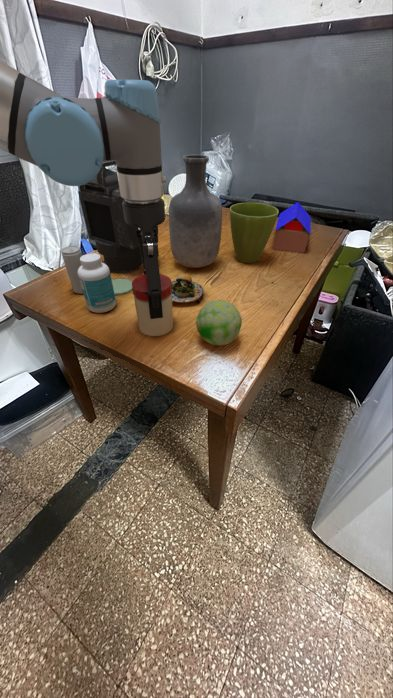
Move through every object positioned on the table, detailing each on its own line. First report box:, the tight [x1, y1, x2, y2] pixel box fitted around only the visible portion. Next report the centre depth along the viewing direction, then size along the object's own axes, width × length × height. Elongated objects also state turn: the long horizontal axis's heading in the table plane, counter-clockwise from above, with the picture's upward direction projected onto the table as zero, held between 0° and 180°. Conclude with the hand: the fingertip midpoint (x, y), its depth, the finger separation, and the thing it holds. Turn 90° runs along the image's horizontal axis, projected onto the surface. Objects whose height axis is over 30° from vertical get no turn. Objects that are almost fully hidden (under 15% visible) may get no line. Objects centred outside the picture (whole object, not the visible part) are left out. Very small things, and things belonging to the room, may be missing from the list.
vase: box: [168, 153, 223, 269], centre depth 85 cm, size 16×16×30 cm
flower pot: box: [229, 202, 280, 264], centre depth 93 cm, size 15×15×16 cm
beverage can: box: [60, 245, 84, 295], centre depth 78 cm, size 5×5×12 cm
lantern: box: [77, 160, 159, 273], centre depth 84 cm, size 15×18×30 cm
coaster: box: [111, 278, 133, 296], centre depth 83 cm, size 8×8×1 cm
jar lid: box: [131, 273, 173, 301], centre depth 63 cm, size 9×9×2 cm
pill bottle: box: [78, 253, 117, 314], centre depth 71 cm, size 8×7×14 cm
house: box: [272, 201, 312, 254], centre depth 107 cm, size 12×20×12 cm, turn 163°
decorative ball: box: [195, 299, 243, 346], centre depth 62 cm, size 10×10×10 cm
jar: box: [133, 292, 174, 337], centre depth 66 cm, size 8×8×11 cm
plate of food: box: [171, 270, 205, 304], centre depth 77 cm, size 12×12×8 cm
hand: (154, 305), depth 66 cm, fingers closed on jar lid, 9 cm apart
